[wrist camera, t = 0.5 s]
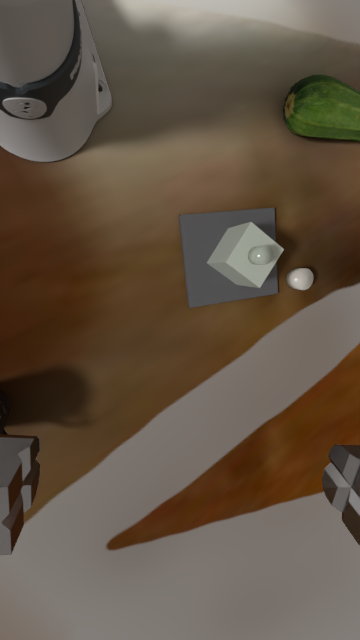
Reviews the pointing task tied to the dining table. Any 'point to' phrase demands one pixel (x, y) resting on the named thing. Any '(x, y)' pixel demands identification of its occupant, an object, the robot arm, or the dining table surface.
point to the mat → (200, 244)
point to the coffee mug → (3, 412)
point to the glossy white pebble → (299, 278)
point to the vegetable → (323, 109)
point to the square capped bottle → (245, 255)
